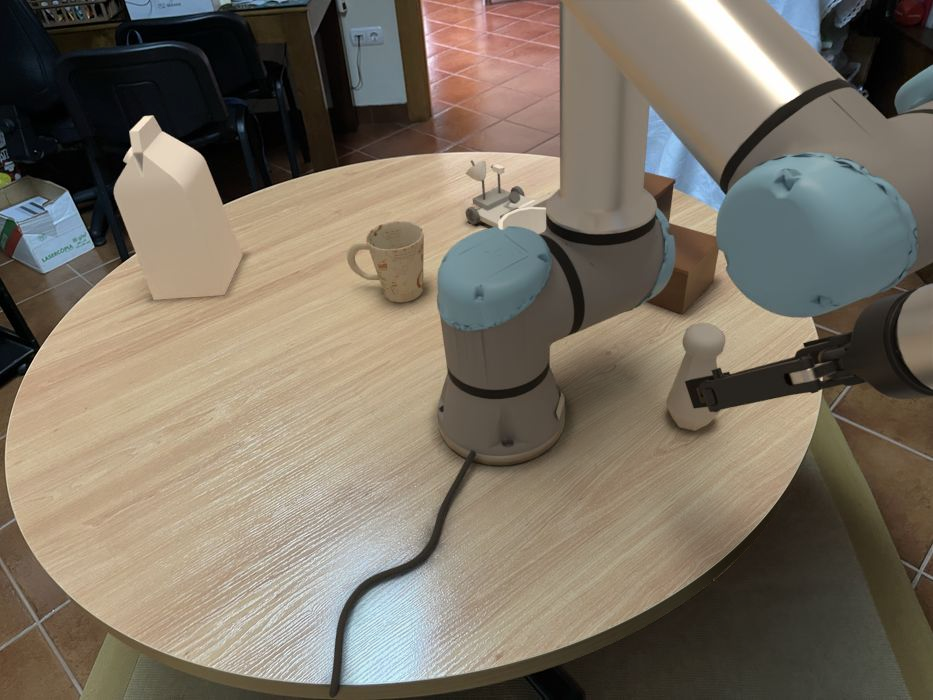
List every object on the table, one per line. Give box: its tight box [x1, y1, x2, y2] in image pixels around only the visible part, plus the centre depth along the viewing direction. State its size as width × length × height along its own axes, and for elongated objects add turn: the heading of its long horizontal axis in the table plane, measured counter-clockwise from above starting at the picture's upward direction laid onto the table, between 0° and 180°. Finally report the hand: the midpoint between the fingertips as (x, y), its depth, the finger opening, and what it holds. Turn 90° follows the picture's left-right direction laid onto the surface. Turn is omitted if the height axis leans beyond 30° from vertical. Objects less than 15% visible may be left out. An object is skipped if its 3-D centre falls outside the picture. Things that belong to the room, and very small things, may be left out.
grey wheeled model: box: [465, 159, 559, 228], centre depth 118 cm, size 18×10×12 cm
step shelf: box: [643, 171, 720, 315], centre depth 99 cm, size 10×16×14 cm, turn 50°
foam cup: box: [498, 207, 546, 234], centre depth 98 cm, size 10×9×13 cm
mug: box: [346, 220, 425, 303], centre depth 104 cm, size 8×13×10 cm, turn 78°
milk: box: [113, 115, 244, 301], centre depth 106 cm, size 12×12×26 cm
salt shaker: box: [666, 322, 726, 432], centre depth 77 cm, size 6×6×13 cm
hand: (752, 374), depth 67 cm, fingers open, 13 cm apart
